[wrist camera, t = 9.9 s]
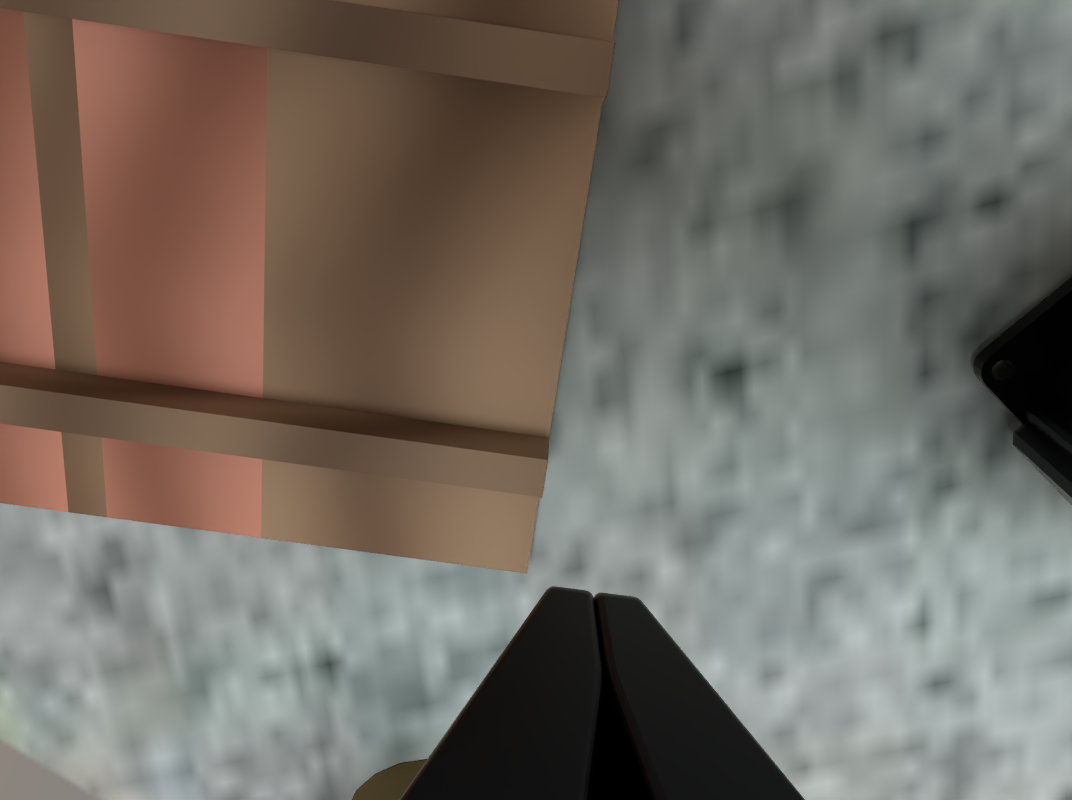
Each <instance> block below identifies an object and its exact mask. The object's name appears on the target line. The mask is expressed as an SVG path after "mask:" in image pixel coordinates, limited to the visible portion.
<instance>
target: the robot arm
mask: <svg viewBox="0 0 1072 800" xmlns="http://www.w3.org/2000/svg"><path fill="white" fill-rule="evenodd" d="M1001 360H1006V366H1005V368H1004V369H1003V370H1002V371H1001V372H999V373H997V374H992V368H993V366H994V365H995V364H996V363H997V362H999V361H1001ZM974 373H975V374H976V376H977V378H978V379H979V380H980V381H981V382H982V383H983V384H984V385H985V386H986V388H987V389H988V390H989V391H990V392H991V393H992V394H993V395H994V396H995V397H996V398H997V399H998V400H999V401H1000V402H1001V403H1002V404H1003V405H1004V407H1005V408H1006V409H1007V410H1008V411H1009V412H1010V413H1011V414H1012V415H1013V416H1014V417H1015V418H1016V419H1017V420H1018V421H1019V422H1020V423H1021V425H1022V426H1021V427H1019V428H1018V429H1017V430H1015V431H1014V434H1013V445H1014V446H1015V447H1016V448H1017V449H1018V450H1019V451H1020V452H1021V453H1022V454H1023V455H1024V456H1025V457H1026V458H1027V459H1028V460H1029V461H1030V462H1031V463H1032V464H1033V465H1034V466H1035V468H1036V469H1037V470H1038V471H1039V472H1040V473H1041V474H1042V475H1043V476H1044V477H1045V478H1046V479H1047V480H1048V481H1049V482H1050V483H1051V484H1052V485H1053V486H1054V487H1055V488H1056V489H1057V490H1058V492H1059V493H1060V494H1061V495H1062V496H1063V497H1064V498H1065V499H1066V500H1067V501H1068V502H1069V503H1070V504H1071V505H1072V278H1070V279H1069V280H1068V281H1067V282H1065V283H1064V284H1063V285H1062V286H1061V287H1059V288H1058V289H1057V290H1056V291H1054V292H1053V293H1052V294H1051V295H1049V296H1048V297H1047V298H1046V299H1045V300H1043V301H1042V302H1041V303H1040V304H1038V305H1037V306H1036V307H1035V308H1034V309H1032V310H1031V311H1030V312H1029V313H1027V314H1026V315H1025V316H1024V317H1022V318H1021V319H1020V320H1019V321H1018V322H1016V323H1015V324H1014V325H1013V326H1011V327H1010V328H1009V329H1008V330H1006V331H1005V332H1004V333H1003V334H1002V335H1000V336H999V337H998V338H997V339H995V340H994V341H993V342H992V343H990V344H989V345H988V346H987V347H986V348H984V349H983V350H982V351H981V352H980V353H979V355H978V356H977V357H976V359H975V362H974ZM399 800H805V799H804V798H803V797H802V796H801V794H800V793H799V792H798V791H797V790H796V788H795V787H794V786H793V785H792V783H791V782H790V781H789V780H788V779H787V777H786V776H785V775H784V774H783V772H782V771H781V770H780V769H779V768H778V766H777V765H776V764H775V763H774V762H773V760H772V759H771V758H770V757H769V755H768V754H767V753H766V752H765V751H764V749H763V748H762V747H761V746H760V745H759V743H758V742H757V741H756V740H755V738H754V737H753V736H752V735H751V734H750V732H749V731H748V730H747V729H746V728H745V726H744V725H743V724H742V723H741V721H740V720H739V719H738V718H737V717H736V715H735V714H734V713H733V712H732V711H731V709H730V708H729V707H728V706H727V704H726V703H725V702H724V701H723V700H722V698H721V697H720V696H719V695H718V693H717V692H716V691H715V690H714V689H713V687H712V686H711V685H710V684H709V683H708V681H707V680H706V679H705V678H704V676H703V675H702V674H701V673H700V672H699V670H698V669H697V668H696V667H695V666H694V664H693V663H692V662H691V661H690V659H689V658H688V657H687V656H686V655H685V653H684V652H683V651H682V650H681V649H680V647H679V646H678V645H677V644H676V642H675V641H674V640H673V639H672V638H671V636H670V635H669V634H668V633H667V631H666V630H665V629H664V628H663V627H662V625H661V624H660V623H659V622H658V621H657V619H656V618H655V617H654V616H653V614H652V613H651V612H650V611H649V610H648V608H647V607H646V606H645V605H644V604H643V602H642V601H641V600H639V599H638V598H636V597H632V596H624V595H616V594H608V593H598V594H596V595H595V597H594V598H593V596H592V594H591V593H590V592H588V591H585V590H578V589H571V588H563V587H550V588H549V589H548V590H546V592H545V593H544V594H543V596H542V597H541V599H540V600H539V602H538V603H537V604H536V606H535V607H534V609H533V610H532V612H531V613H530V614H529V616H528V617H527V619H526V620H525V621H524V623H523V624H522V626H521V627H520V629H519V630H518V631H517V633H516V634H515V636H514V637H513V639H512V640H511V641H510V643H509V644H508V646H507V647H506V648H505V650H504V651H503V653H502V654H501V656H500V657H499V658H498V660H497V661H496V663H495V664H494V666H493V667H492V668H491V670H490V671H489V673H488V674H487V675H486V677H485V678H484V680H483V681H482V683H481V684H480V685H479V687H478V688H477V690H476V691H475V693H474V694H473V695H472V697H471V698H470V700H469V701H468V702H467V704H466V705H465V707H464V708H463V710H462V711H461V712H460V714H459V715H458V717H457V718H456V720H455V721H454V722H453V724H452V725H451V727H450V728H449V729H448V731H447V732H446V734H445V735H444V737H443V738H442V739H441V741H440V742H439V744H438V745H437V747H436V748H435V749H434V751H433V752H432V754H431V755H430V756H429V758H428V759H427V761H426V762H425V764H424V765H423V766H422V768H421V769H420V771H419V772H418V774H417V775H416V776H415V778H414V779H413V781H412V782H411V783H410V785H409V786H408V788H407V789H406V791H405V792H404V793H403V795H402V796H401V798H400V799H399Z"/></svg>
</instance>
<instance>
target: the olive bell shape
mask: <svg viewBox="0 0 1072 800" xmlns="http://www.w3.org/2000/svg"><path fill="white" fill-rule="evenodd" d="M426 761H427V760H421V761H414V762H407V763H400V764H398V765H396V766H393V767H391V768H389V769H386V770H384V771H382V772H379V773H377V774H375V775H374V776H373V777H371V778H370V779H369V780H368V781H367V782H366V783H365V784H364V785H362V786H361V787H360V788H359V789H358V790H357V791H356V793H355V795H354V797H353V799H352V800H399V799H400V798H401V796H402V795H403V793H404V792H405V791H406V789H407V788H408V786H409V785H410V783H411V782H412V781H413V779H414V778H415V776H416V775H417V774H418V772H419V771H420V769H421V768H422V766H423V765H424V764H425V762H426Z"/></svg>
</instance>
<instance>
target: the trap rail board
mask: <svg viewBox="0 0 1072 800" xmlns="http://www.w3.org/2000/svg"><path fill="white" fill-rule="evenodd" d="M618 2H619V0H0V503H5V504H13V505H20V506H28V507H35V508H43V509H50V510H58V511H65V512H72V513H80V514H87V515H95V516H102V517H110V518H117V519H125V520H132V521H140V522H147V523H155V524H162V525H169V526H177V527H184V528H192V529H199V530H207V531H214V532H222V533H229V534H237V535H244V536H252V537H259V538H266V539H274V540H281V541H289V542H296V543H304V544H311V545H319V546H326V547H334V548H341V549H349V550H356V551H364V552H371V553H378V554H386V555H393V556H401V557H408V558H416V559H423V560H431V561H438V562H446V563H453V564H461V565H468V566H475V567H483V568H490V569H498V570H505V571H513V572H520V573H527V572H528V565H529V559H530V553H531V547H532V540H533V534H534V528H535V522H536V515H537V509H538V503H539V497H542V494H543V488H544V482H545V476H546V469H547V463H548V448H549V434H550V428H551V421H552V415H553V409H554V403H555V396H556V390H557V384H558V378H559V371H560V365H561V359H562V353H563V346H564V340H565V334H566V328H567V321H568V315H569V309H570V303H571V296H572V290H573V284H574V278H575V271H576V265H577V259H578V253H579V246H580V240H581V234H582V228H583V221H584V215H585V209H586V203H587V196H588V190H589V184H590V177H591V171H592V165H593V159H594V152H595V146H596V140H597V134H598V127H599V121H600V115H601V109H602V102H603V98H606V97H607V91H608V85H609V79H610V73H611V66H612V60H613V54H614V48H615V43H613V42H612V40H613V34H614V27H615V21H616V15H617V9H618Z"/></svg>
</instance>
